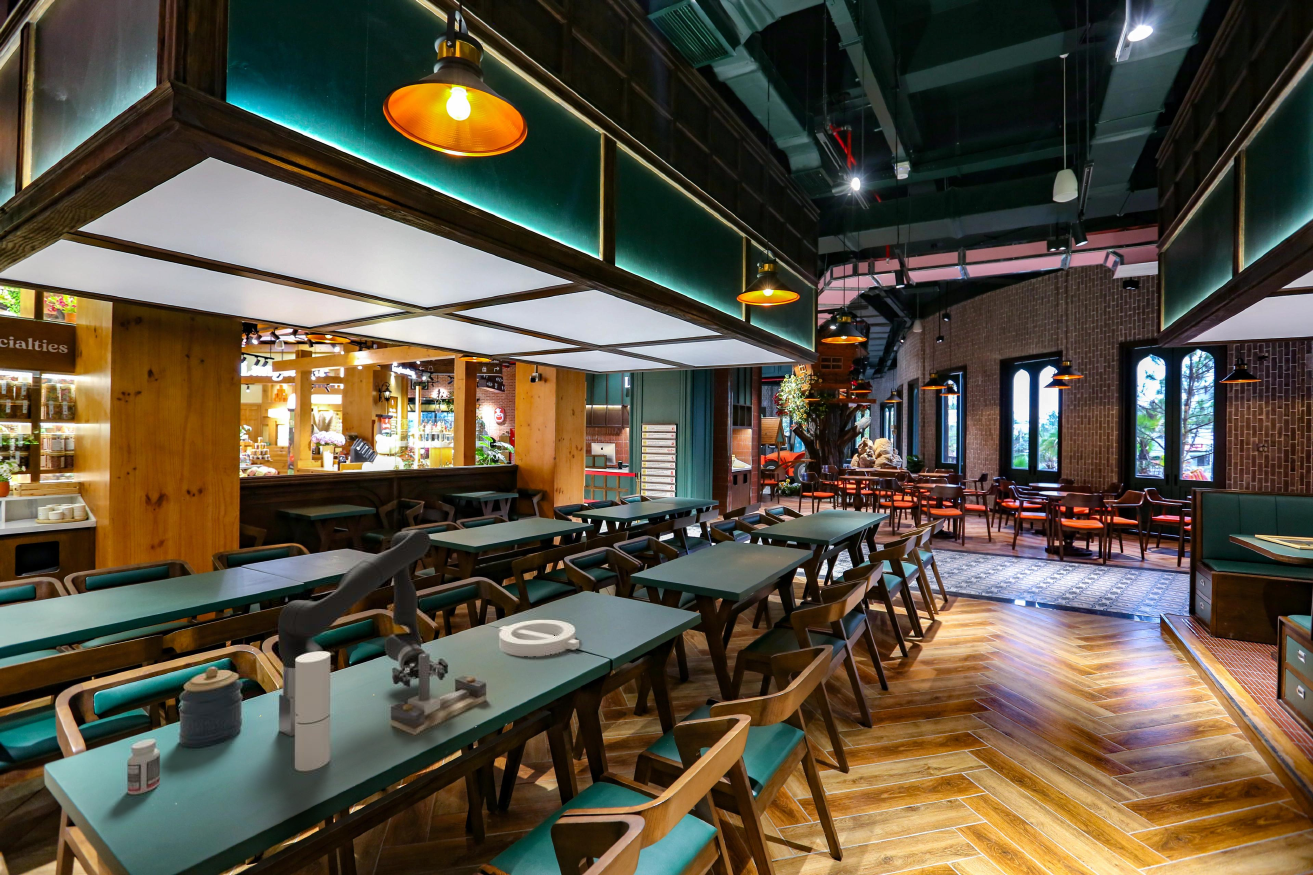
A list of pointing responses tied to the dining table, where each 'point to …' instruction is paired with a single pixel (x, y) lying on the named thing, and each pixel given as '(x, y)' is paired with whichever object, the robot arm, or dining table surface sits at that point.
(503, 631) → the white circle with bar
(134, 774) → the pill bottle
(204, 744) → the canister
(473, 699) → the rail
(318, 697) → the cylindrical container
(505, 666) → the dining table surface
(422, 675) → the carriage
